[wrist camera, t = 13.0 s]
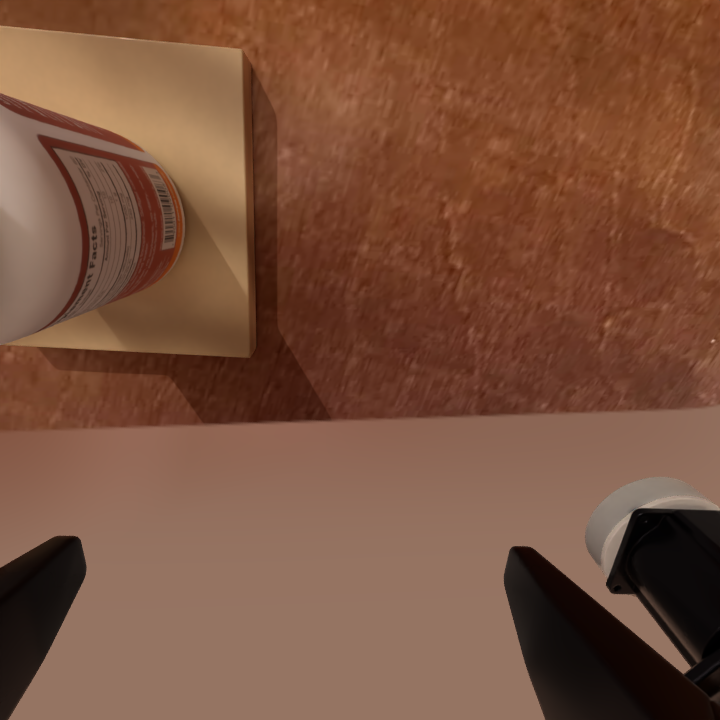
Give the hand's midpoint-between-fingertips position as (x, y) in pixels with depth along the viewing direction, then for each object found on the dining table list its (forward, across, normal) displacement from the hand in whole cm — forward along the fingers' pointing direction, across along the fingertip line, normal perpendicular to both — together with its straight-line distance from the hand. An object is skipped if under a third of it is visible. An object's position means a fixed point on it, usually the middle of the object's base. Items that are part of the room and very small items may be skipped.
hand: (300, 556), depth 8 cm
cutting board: (+12, +9, -6) cm, 17 cm away
